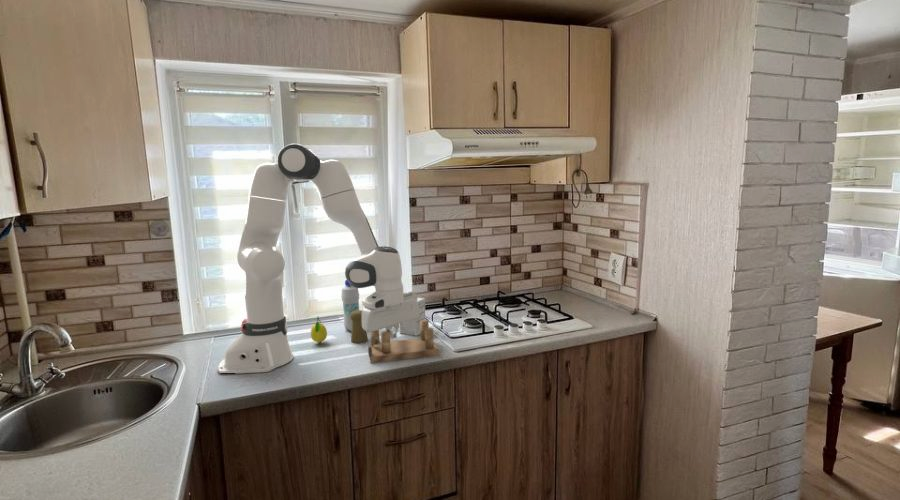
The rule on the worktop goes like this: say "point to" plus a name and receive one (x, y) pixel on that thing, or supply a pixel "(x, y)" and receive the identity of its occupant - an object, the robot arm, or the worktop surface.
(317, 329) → the lemon
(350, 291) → the bottle
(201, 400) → the worktop surface
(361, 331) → the cork
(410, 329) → the supplement box
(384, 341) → the folding leg
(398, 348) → the wooden peg board
